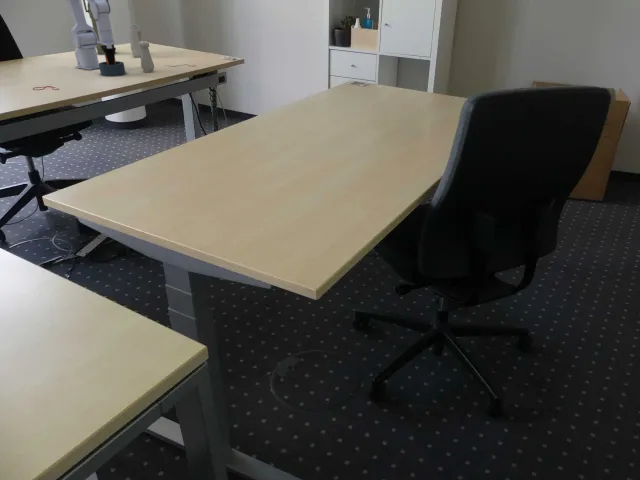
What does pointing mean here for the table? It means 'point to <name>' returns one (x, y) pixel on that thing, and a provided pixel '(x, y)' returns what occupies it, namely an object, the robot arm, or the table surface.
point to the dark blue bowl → (112, 69)
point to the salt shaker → (146, 57)
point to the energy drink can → (135, 39)
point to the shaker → (107, 61)
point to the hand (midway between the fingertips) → (111, 63)
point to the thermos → (99, 49)
